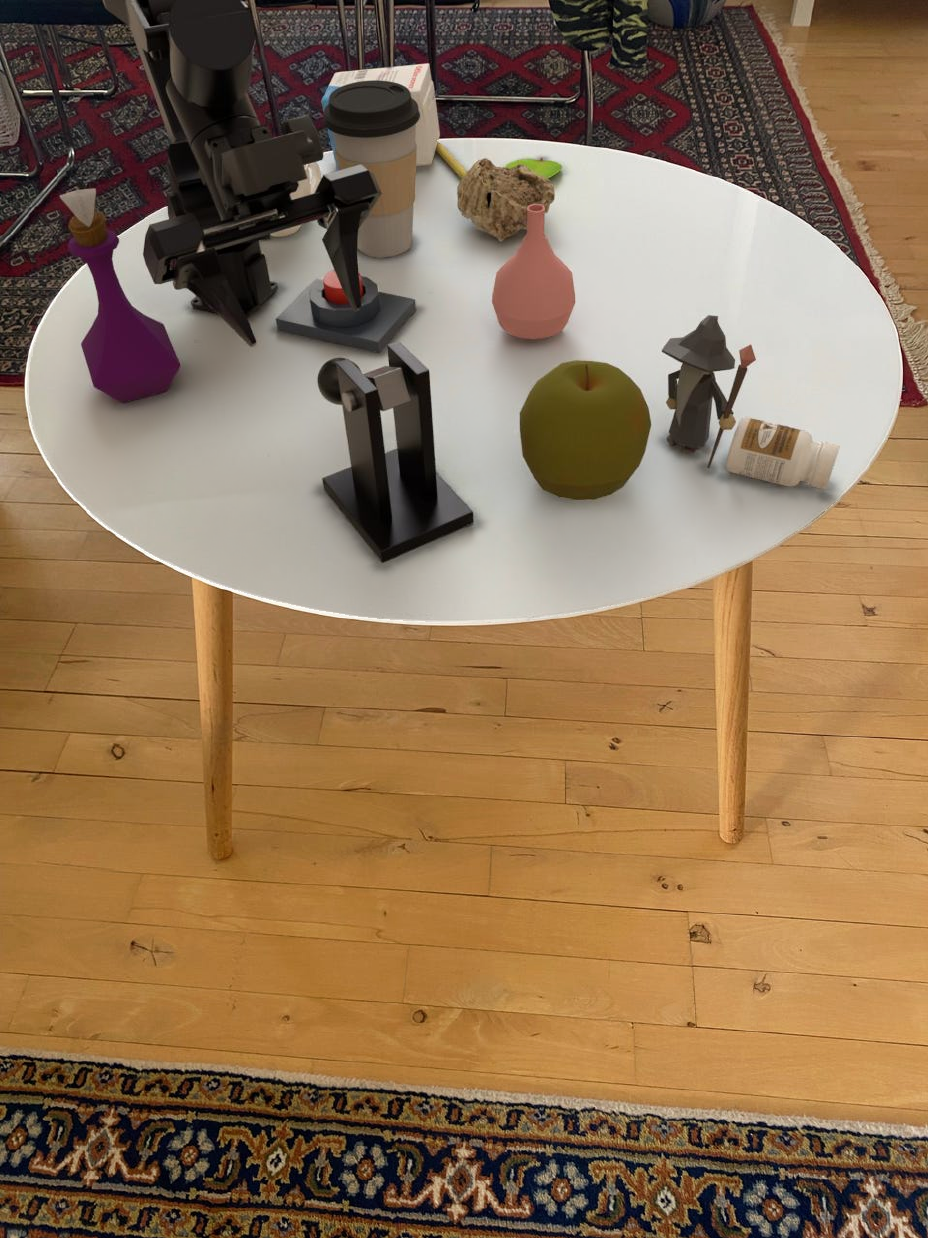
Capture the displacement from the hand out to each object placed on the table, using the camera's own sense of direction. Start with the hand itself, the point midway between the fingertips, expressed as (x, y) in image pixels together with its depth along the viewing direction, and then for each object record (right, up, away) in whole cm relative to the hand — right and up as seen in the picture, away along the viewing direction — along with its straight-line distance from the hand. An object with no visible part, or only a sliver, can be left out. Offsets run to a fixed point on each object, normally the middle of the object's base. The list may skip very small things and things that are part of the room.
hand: (307, 326), depth 79 cm
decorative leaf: (+21, +28, +39) cm, 52 cm away
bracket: (+7, -14, -1) cm, 16 cm away
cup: (-7, +20, +31) cm, 37 cm away
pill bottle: (+34, -9, -1) cm, 35 cm away
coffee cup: (+4, +17, +27) cm, 32 cm away
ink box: (-3, +36, +38) cm, 52 cm away
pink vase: (+19, +4, +15) cm, 24 cm away
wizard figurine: (+32, -9, +2) cm, 33 cm away
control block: (+1, +6, +17) cm, 18 cm away
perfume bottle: (-17, -2, +11) cm, 20 cm away
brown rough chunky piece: (+17, +20, +29) cm, 39 cm away
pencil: (+11, +31, +38) cm, 50 cm away
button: (+1, +7, +15) cm, 17 cm away
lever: (+5, -7, -5) cm, 10 cm away
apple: (+22, -13, 0) cm, 25 cm away
